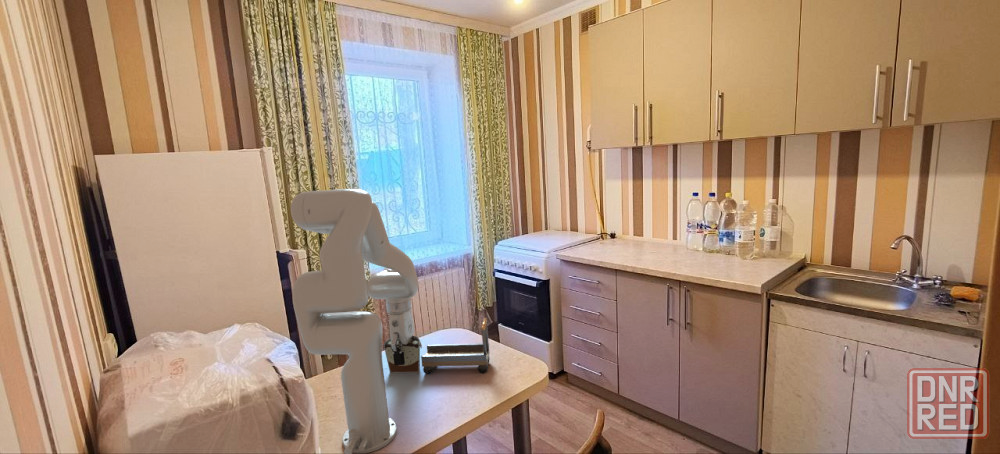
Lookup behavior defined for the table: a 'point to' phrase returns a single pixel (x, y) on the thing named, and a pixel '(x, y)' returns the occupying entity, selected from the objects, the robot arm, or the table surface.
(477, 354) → the trolley
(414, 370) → the food container
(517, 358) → the table surface
